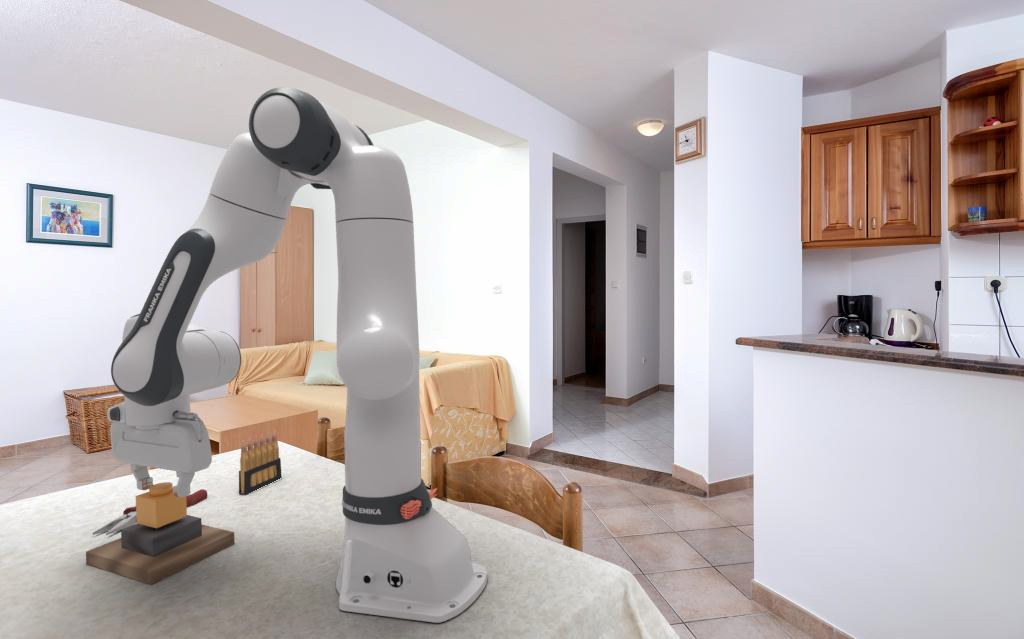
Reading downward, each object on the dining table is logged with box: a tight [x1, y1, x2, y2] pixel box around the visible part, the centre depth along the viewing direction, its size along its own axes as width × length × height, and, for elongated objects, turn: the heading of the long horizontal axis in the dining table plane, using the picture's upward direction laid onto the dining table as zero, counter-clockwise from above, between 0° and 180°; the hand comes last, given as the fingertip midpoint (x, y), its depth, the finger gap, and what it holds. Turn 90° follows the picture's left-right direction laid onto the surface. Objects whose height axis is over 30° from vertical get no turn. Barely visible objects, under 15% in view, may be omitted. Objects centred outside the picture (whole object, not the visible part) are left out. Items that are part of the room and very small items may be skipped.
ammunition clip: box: [238, 428, 283, 496], centre depth 117 cm, size 11×2×12 cm, turn 161°
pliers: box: [92, 488, 208, 536], centre depth 102 cm, size 12×20×3 cm, turn 172°
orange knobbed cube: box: [135, 481, 188, 528], centre depth 86 cm, size 5×5×6 cm
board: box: [85, 514, 235, 585], centre depth 86 cm, size 16×14×10 cm
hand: (163, 492), depth 86 cm, fingers open, 8 cm apart
